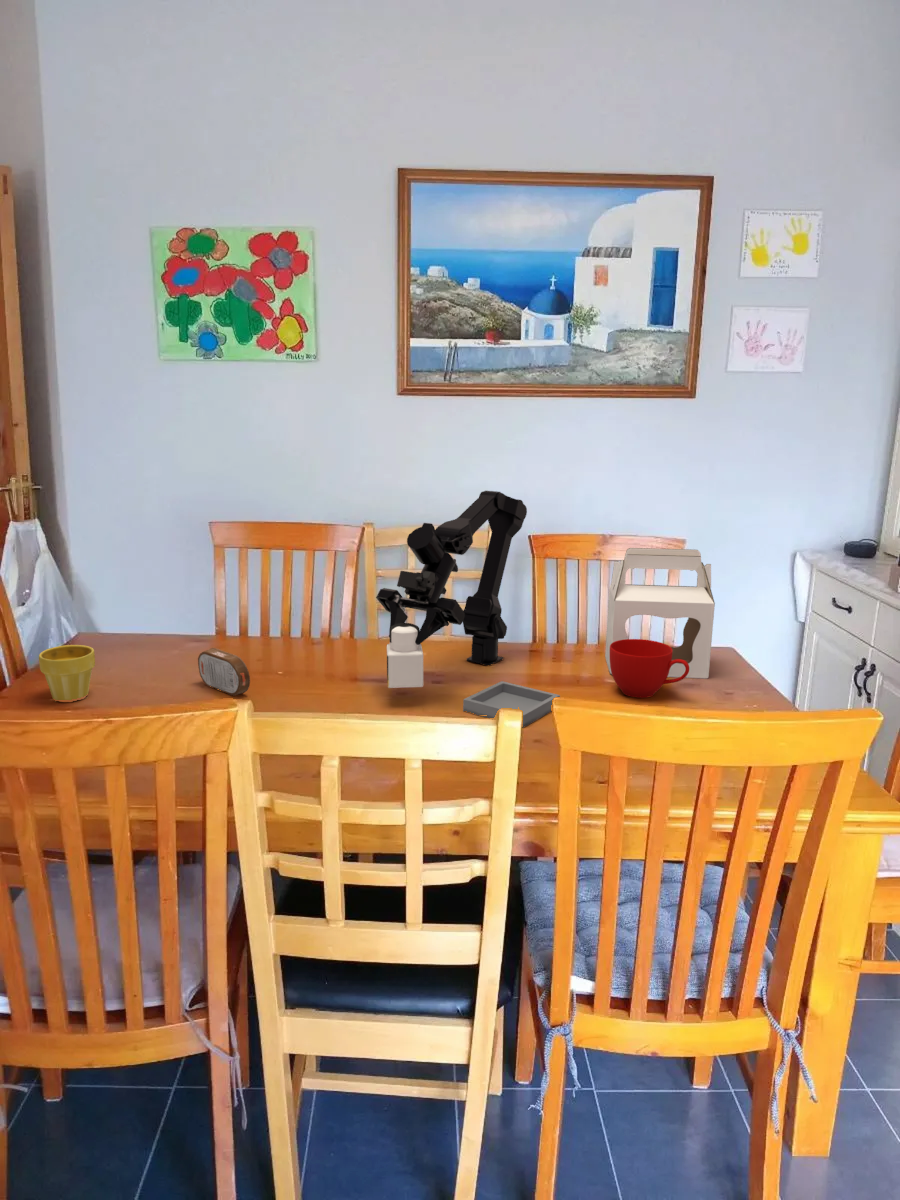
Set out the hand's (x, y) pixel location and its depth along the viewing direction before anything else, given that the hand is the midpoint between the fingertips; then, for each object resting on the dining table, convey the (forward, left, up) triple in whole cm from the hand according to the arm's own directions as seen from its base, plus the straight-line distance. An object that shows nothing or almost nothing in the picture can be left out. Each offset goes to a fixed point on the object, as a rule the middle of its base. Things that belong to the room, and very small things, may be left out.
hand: (403, 641), depth 177 cm
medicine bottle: (0, 0, -9) cm, 9 cm away
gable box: (-53, +32, -13) cm, 63 cm away
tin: (+18, -34, -13) cm, 41 cm away
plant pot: (+40, -55, -13) cm, 69 cm away
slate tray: (-10, +20, -13) cm, 26 cm away
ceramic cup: (-35, +38, -13) cm, 53 cm away
